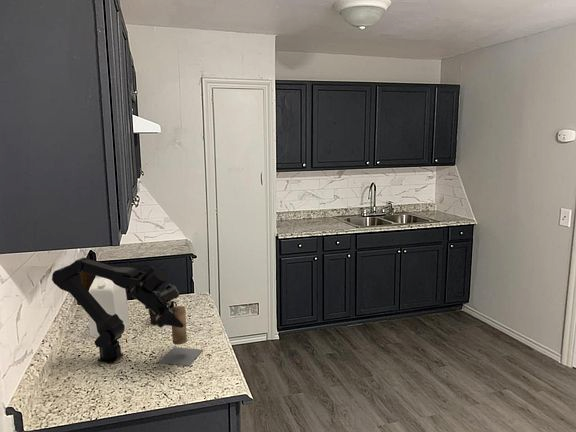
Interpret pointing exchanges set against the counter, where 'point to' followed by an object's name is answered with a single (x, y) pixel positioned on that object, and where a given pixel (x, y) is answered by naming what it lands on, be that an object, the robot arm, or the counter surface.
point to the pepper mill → (177, 332)
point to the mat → (180, 356)
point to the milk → (109, 301)
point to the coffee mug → (152, 316)
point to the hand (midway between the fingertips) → (182, 323)
